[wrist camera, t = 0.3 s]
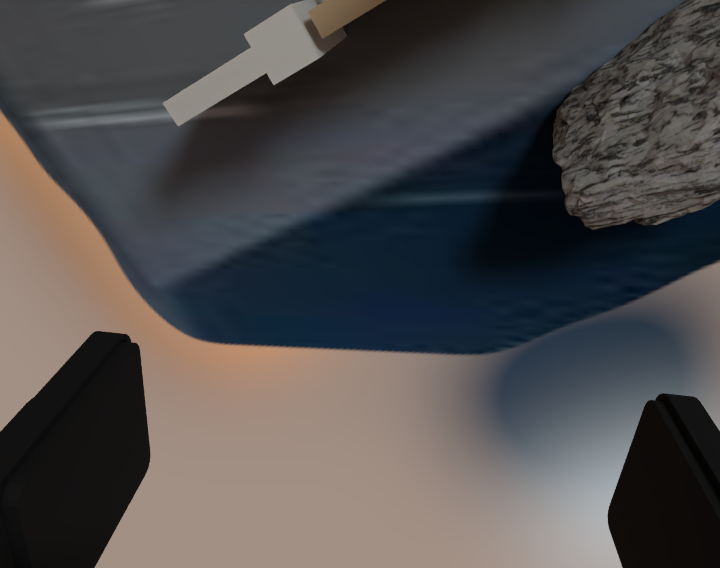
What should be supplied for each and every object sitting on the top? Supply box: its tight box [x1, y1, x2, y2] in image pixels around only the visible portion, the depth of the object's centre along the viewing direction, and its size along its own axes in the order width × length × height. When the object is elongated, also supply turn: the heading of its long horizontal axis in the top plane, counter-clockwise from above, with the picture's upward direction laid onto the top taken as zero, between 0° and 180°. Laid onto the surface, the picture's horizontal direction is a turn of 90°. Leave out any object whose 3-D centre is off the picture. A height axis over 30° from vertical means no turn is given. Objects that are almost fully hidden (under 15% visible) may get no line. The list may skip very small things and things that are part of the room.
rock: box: [552, 0, 720, 230], centre depth 30 cm, size 16×8×10 cm, turn 112°
